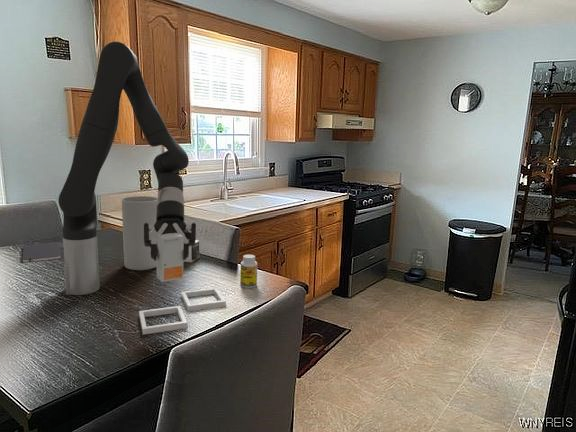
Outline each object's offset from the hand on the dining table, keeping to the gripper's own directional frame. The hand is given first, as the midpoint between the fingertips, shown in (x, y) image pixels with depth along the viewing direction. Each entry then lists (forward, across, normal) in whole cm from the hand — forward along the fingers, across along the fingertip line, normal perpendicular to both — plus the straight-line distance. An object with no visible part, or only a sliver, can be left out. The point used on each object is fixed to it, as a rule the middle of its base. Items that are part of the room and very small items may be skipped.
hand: (170, 258), depth 109 cm
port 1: (+13, -2, +11) cm, 17 cm away
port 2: (+5, +9, +19) cm, 22 cm away
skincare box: (+3, 0, +5) cm, 6 cm away
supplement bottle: (-3, +25, +27) cm, 37 cm away
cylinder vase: (-21, -11, +46) cm, 51 cm away
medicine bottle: (-25, +6, +49) cm, 56 cm away
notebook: (-35, -50, +61) cm, 86 cm away
